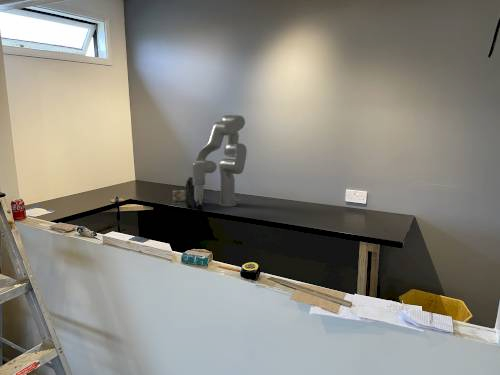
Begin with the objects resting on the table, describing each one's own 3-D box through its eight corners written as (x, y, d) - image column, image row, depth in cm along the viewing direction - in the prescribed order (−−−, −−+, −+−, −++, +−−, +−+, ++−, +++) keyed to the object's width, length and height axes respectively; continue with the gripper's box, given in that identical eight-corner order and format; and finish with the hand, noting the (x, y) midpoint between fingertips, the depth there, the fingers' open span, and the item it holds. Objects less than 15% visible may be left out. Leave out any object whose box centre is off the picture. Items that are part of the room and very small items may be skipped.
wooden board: (201, 199, 252) (201, 189, 251) (201, 199, 251) (201, 190, 249) (173, 200, 248) (172, 190, 246) (173, 201, 246) (172, 191, 244)
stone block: (195, 209, 226) (195, 179, 222) (183, 208, 229) (183, 178, 225) (208, 202, 243) (207, 174, 239) (196, 201, 246) (196, 173, 242)
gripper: (191, 180, 219) (192, 208, 223) (193, 185, 205) (194, 214, 209) (203, 179, 221) (204, 207, 225) (206, 184, 207) (207, 214, 211)
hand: (199, 211), depth 217 cm, fingers closed
